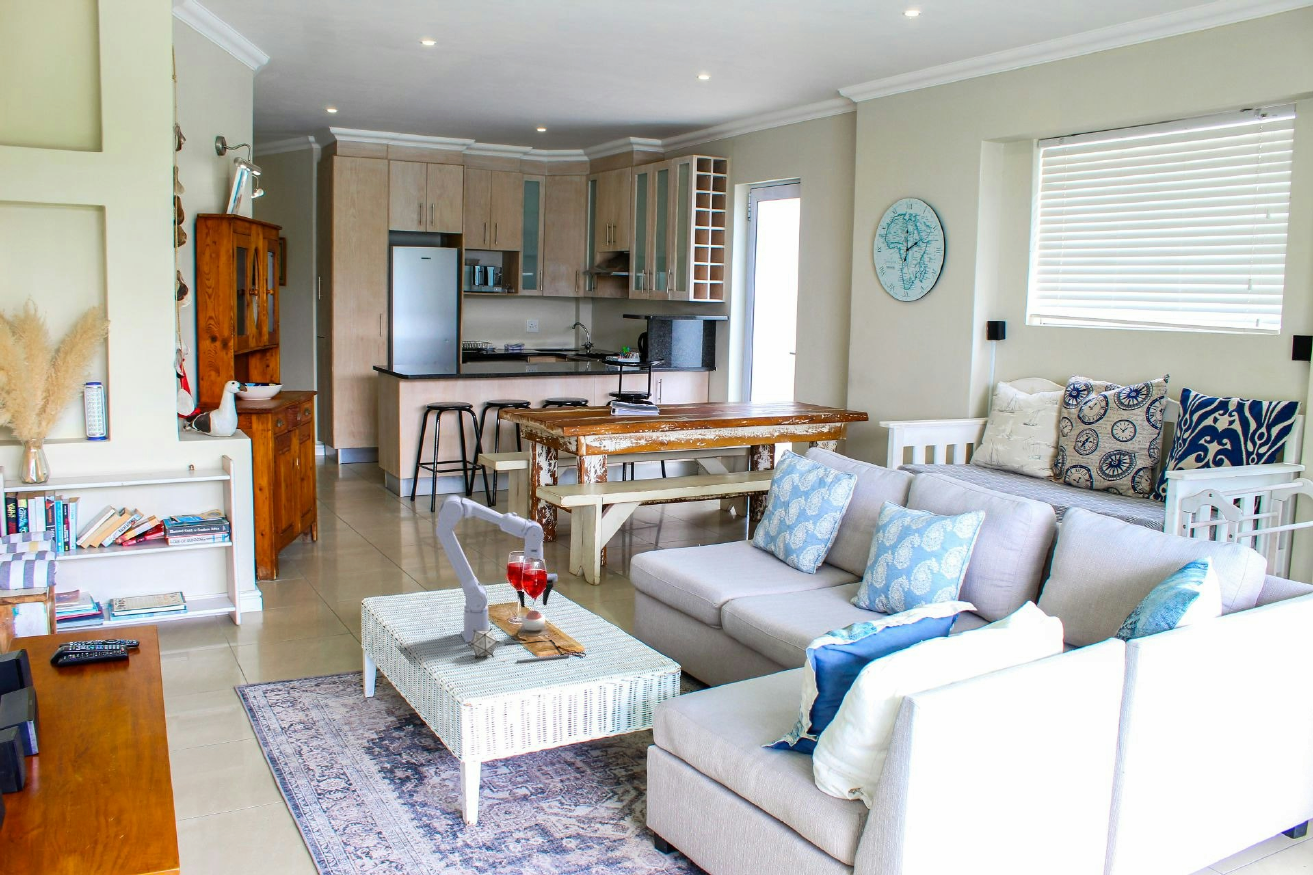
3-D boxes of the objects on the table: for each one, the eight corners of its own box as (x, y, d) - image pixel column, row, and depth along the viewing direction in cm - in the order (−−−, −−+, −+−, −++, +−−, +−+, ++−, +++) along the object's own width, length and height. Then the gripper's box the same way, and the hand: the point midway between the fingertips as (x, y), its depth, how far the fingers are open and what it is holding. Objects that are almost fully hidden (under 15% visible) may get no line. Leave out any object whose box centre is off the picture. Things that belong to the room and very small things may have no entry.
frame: (505, 644, 312) (505, 642, 312) (554, 639, 317) (554, 637, 317) (517, 663, 296) (517, 661, 296) (568, 657, 301) (568, 655, 301)
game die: (487, 670, 300) (491, 651, 293) (461, 658, 301) (464, 638, 294) (502, 647, 307) (505, 628, 300) (476, 635, 308) (479, 615, 301)
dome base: (514, 631, 323) (514, 626, 323) (545, 628, 326) (545, 623, 326) (521, 641, 314) (521, 637, 314) (553, 638, 317) (553, 633, 317)
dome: (519, 624, 322) (519, 608, 321) (542, 622, 324) (542, 606, 324) (525, 631, 315) (525, 615, 315) (547, 629, 318) (547, 613, 317)
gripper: (512, 567, 311) (513, 611, 313) (560, 563, 316) (560, 607, 318) (507, 561, 317) (508, 604, 319) (554, 557, 322) (554, 600, 324)
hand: (533, 605), depth 319 cm, fingers open, 6 cm apart
